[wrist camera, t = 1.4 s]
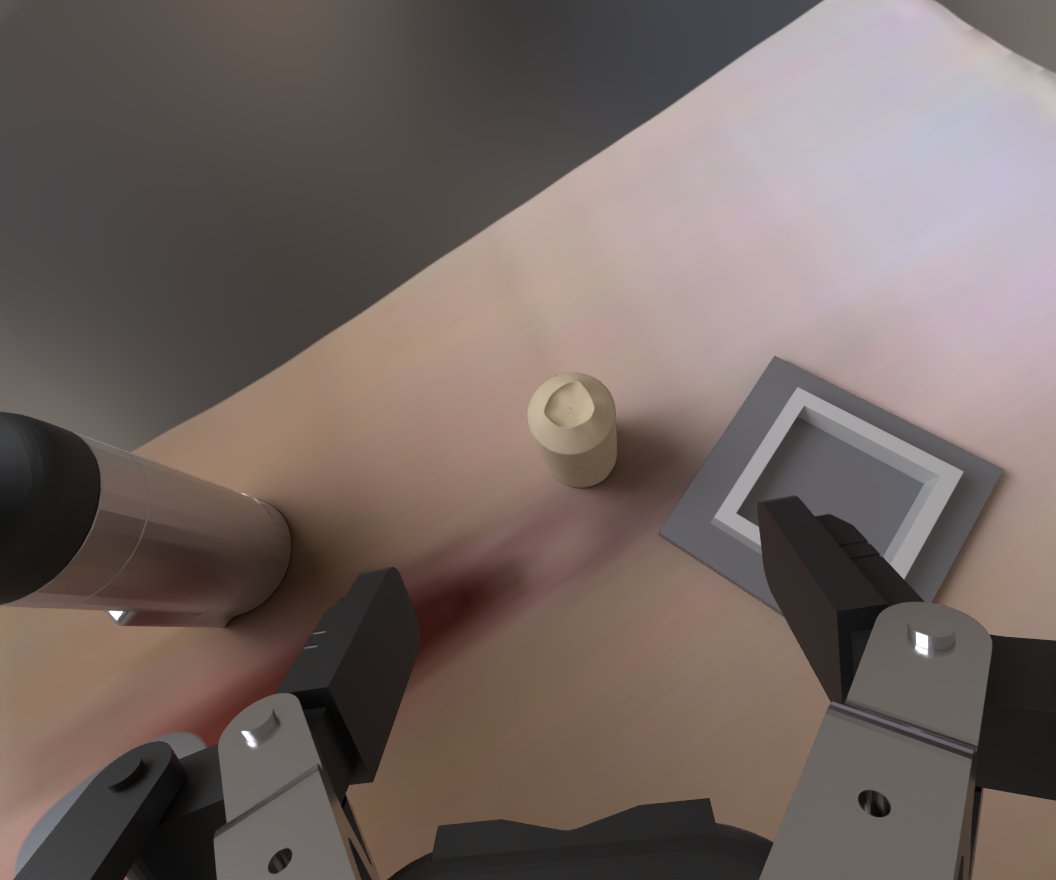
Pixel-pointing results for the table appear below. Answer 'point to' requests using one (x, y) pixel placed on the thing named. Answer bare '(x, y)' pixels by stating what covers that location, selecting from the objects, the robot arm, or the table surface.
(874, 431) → the candle tray
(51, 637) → the table surface
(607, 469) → the candle
